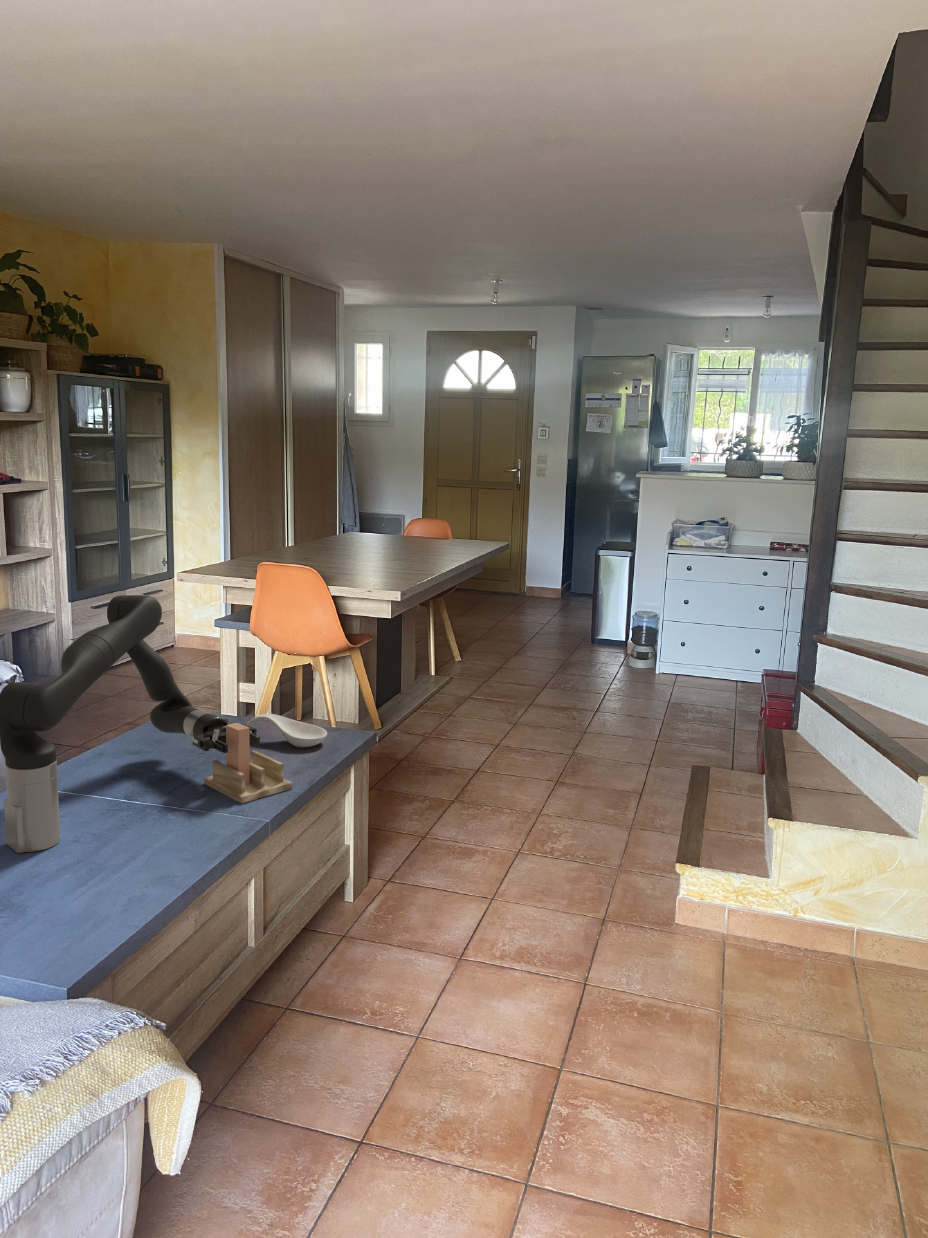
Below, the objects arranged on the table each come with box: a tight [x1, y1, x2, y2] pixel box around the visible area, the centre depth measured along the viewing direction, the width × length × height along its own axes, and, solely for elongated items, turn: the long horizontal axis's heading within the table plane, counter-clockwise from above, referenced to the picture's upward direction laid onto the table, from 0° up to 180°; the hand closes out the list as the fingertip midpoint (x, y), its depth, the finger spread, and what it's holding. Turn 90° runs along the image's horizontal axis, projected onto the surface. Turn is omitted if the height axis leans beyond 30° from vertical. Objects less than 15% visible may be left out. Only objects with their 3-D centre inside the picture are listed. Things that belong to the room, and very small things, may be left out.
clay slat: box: [225, 722, 251, 785], centre depth 214 cm, size 3×5×14 cm, turn 48°
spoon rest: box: [245, 713, 328, 748], centre depth 249 cm, size 24×12×7 cm, turn 77°
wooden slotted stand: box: [203, 749, 293, 804], centre depth 217 cm, size 14×16×6 cm
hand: (242, 745), depth 212 cm, fingers open, 8 cm apart
